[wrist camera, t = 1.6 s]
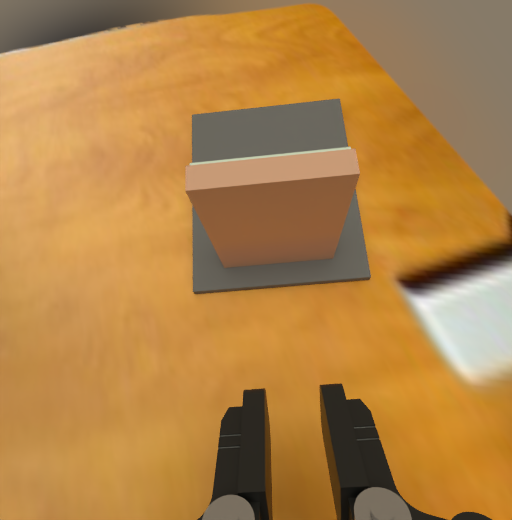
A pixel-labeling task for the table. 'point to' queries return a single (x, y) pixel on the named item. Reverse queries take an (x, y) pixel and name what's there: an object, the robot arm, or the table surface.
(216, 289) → the charcoal mat
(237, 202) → the terracotta tile
